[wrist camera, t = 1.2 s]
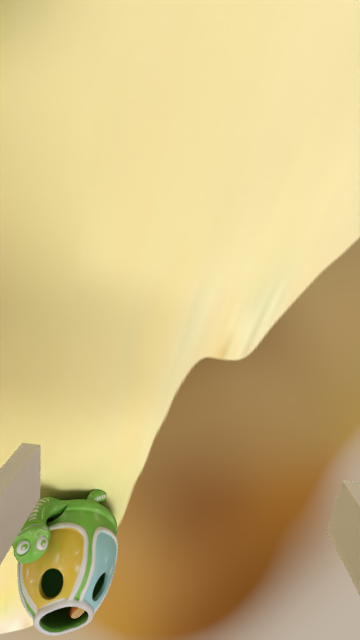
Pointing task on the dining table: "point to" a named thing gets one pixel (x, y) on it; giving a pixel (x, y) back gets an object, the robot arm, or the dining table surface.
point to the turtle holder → (66, 561)
